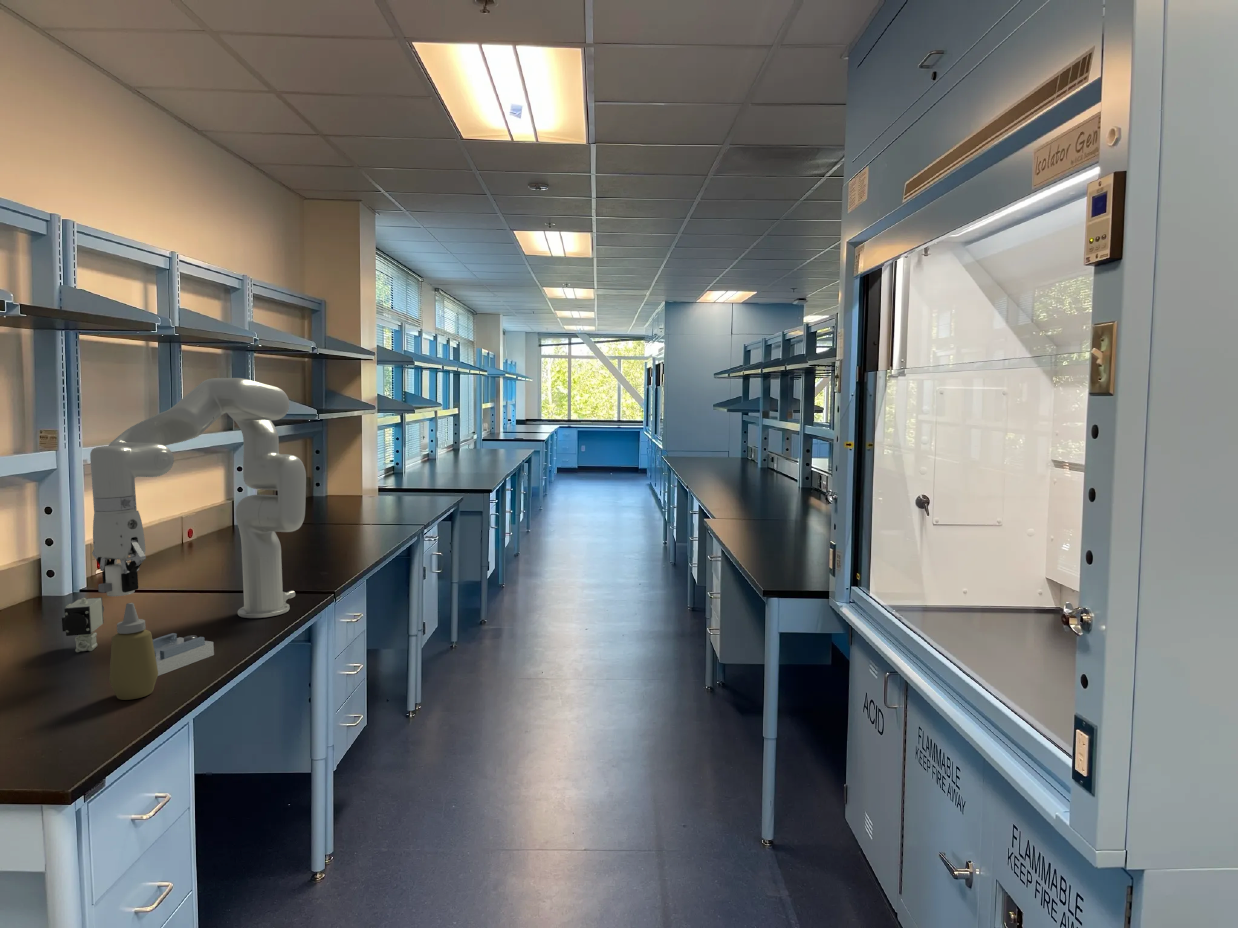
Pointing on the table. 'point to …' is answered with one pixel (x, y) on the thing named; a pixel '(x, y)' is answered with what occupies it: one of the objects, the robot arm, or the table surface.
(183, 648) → the grey fixture tray
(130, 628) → the squeeze bottle
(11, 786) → the table surface
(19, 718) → the table surface
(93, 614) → the pneumatic valve
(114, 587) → the white rounded cylinder
